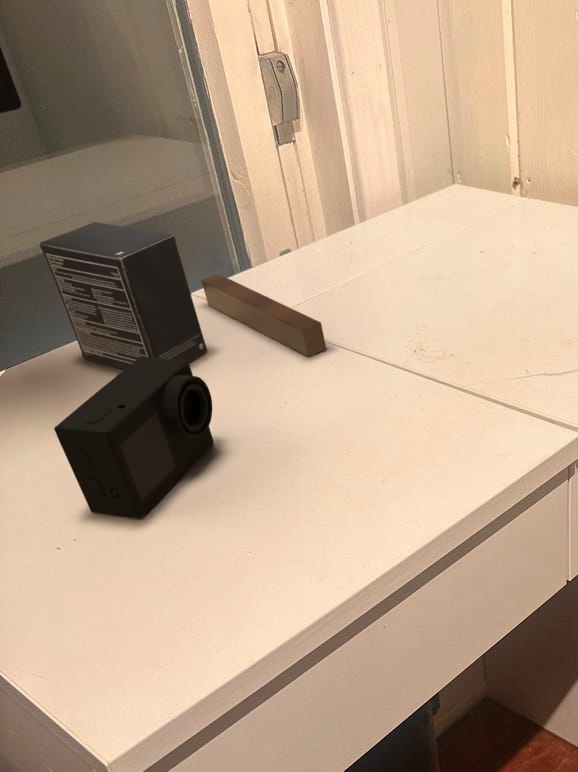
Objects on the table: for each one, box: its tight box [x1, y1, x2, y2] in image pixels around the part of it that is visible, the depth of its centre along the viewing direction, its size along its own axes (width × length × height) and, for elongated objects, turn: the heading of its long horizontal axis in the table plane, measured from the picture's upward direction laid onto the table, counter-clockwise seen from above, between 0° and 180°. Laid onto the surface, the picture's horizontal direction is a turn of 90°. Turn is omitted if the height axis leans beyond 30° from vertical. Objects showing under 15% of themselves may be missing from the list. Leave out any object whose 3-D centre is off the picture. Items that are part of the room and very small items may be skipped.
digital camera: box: [53, 357, 215, 519], centre depth 65 cm, size 10×5×7 cm, turn 162°
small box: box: [39, 221, 208, 370], centre depth 80 cm, size 11×6×10 cm, turn 58°
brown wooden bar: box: [200, 273, 327, 358], centre depth 85 cm, size 18×2×2 cm, turn 42°
